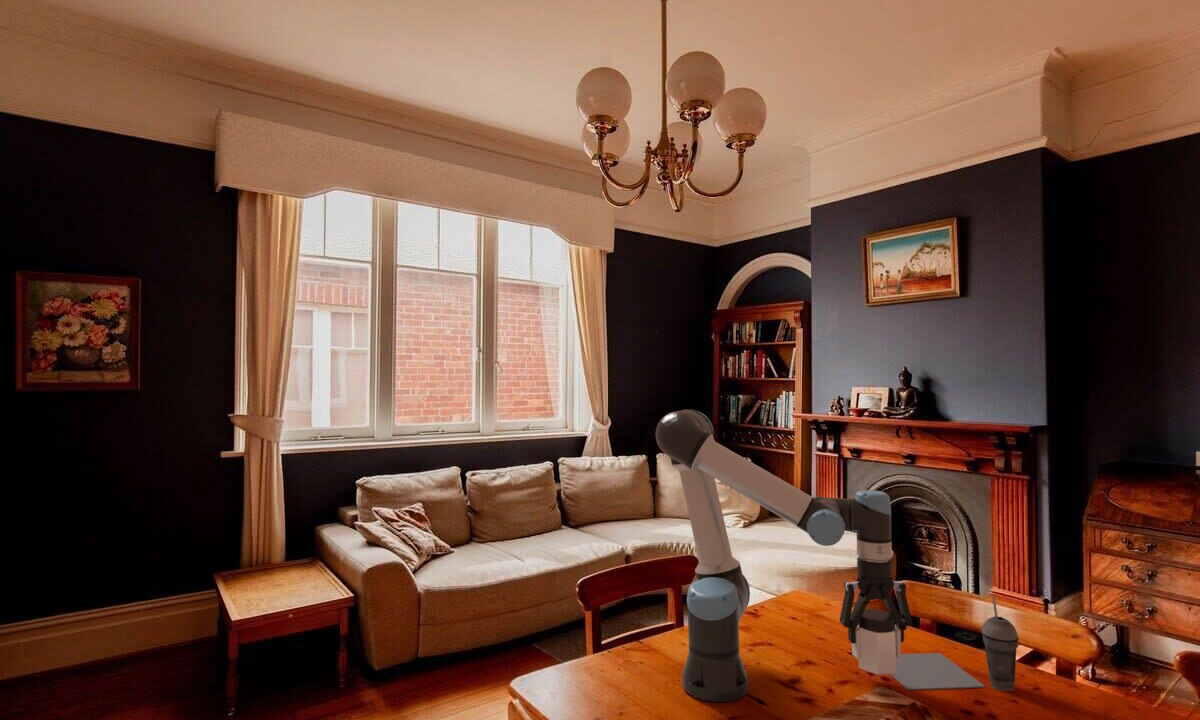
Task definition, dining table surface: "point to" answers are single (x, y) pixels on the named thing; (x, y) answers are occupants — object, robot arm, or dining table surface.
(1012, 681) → the beverage cup
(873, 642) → the jar
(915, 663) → the mat
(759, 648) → the dining table surface
